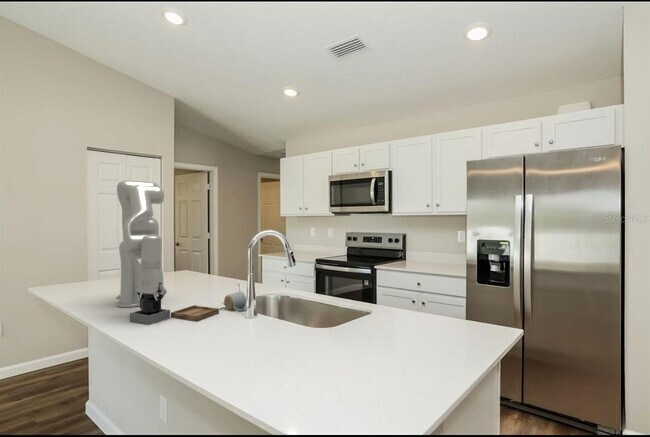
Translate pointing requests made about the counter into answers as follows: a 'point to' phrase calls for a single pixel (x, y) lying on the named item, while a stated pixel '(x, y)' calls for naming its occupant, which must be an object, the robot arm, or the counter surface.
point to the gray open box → (149, 317)
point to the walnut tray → (194, 313)
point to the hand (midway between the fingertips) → (150, 308)
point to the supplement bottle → (148, 305)
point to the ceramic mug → (235, 301)
